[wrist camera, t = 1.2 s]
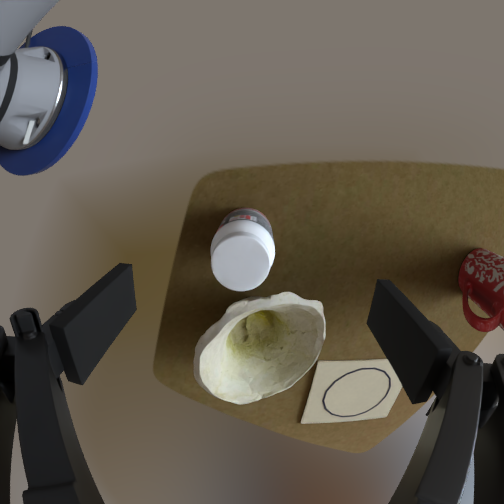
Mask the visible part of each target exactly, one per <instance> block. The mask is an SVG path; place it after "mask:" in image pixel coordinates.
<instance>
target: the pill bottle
mask: <svg viewBox="0 0 504 504" xmlns="http://www.w3.org/2000/svg"><path fill="white" fill-rule="evenodd" d="M274 257H275V245H274V240H273V234H272V229H271V225H270V223H269V221H268V219H267V218H266V217H265V216H264V215H263V214H262V213H261V212H259V211H257V210H255V209H252V208H239V209H236V210H234V211H232V212H230V213H229V214H228V215H227V216H226V217H225V218H224V220H223V221H222V223H221V225H220V227H219V228H218V230H217V232H216V234H215V236H214V238H213V240H212V244H211V268H212V271H213V274H214V276H215V278H216V279H217V280H218V281H219V282H220V283H221V284H222V285H223V286H225V287H226V288H228V289H231V290H235V291H248V290H251V289H254V288H256V287H257V286H259V285H260V284H261V283H262V282H263V281H264V280H265V279H266V277H267V275H268V273H269V270H270V267H271V266H272V264H273V261H274Z"/></svg>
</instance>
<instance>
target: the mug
mask: <svg viewBox="0 0 504 504" xmlns="http://www.w3.org/2000/svg"><path fill="white" fill-rule="evenodd" d="M458 282H459V287H460V289H461V291H462V292H463V311H464V315H465V318H466V320H467V321H468V323H469V324H470V325H471V326H472V327H473V328H475V329H476V330H478V331H481V332H489V331H492V330H494V329H495V328H496V327H498V326H500V327H501V328H502V329H503V330H504V257H502V256H500V255H497V254H495V253H493V252H490V251H488V250H486V249H482V248H478V249H475V250H473V251H472V252H470V253H469V254H468V255H467V257H466V258H465V259H464V261H463V263H462V265H461V268H460V271H459V277H458ZM468 297H469V298H470V299H471V300H472V301H473V302H474V303H475V304H477V305H478V306H479V307H480V308H481V309H482V310H483V311H484V312H485V313H486V314H487V315H488V316H489V317H491V318H481V317H479V316H477V315H475V314H474V313H473V312H472V311H471V309H470V307H469V305H468Z"/></svg>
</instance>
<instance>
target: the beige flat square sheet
mask: <svg viewBox="0 0 504 504" xmlns="http://www.w3.org/2000/svg"><path fill="white" fill-rule="evenodd" d="M401 388H402V384H401V382H400V380H399V379H398V377H397V375H396V373H395V371H394V370H393V368H392V366H391V364H390V363H389V361H388V359H373V360H339V361H318V363H317V367H316V370H315V374H314V378H313V382H312V385H311V389H310V392H309V396H308V399H307V403H306V406H305V409H304V413H303V416H302V419H301V423H330V422H345V421H356V420H366V419H375V418H382V417H386V416H387V415H388V413H389V411H390V409H391V407H392V405H393V403H394V401H395V400H396V398H397V396H398V394H399V392H400V390H401Z"/></svg>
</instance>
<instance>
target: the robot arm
mask: <svg viewBox="0 0 504 504" xmlns="http://www.w3.org/2000/svg"><path fill="white" fill-rule="evenodd" d="M58 1H59V0H0V145H1V146H3V147H5V148H7V149H10V150H19V149H27V148H30V147H32V146H34V145H35V144H37V143H38V142H39V141H41V140H42V139H43V138H44V137H45V136H46V134H47V133H48V132H49V131H50V129H51V128H52V126H53V125H54V123H55V121H56V120H57V118H58V116H59V113H60V111H61V109H62V106H63V103H64V100H65V97H66V92H67V87H68V68H67V64H66V61H65V59H64V57H63V56H62V55H61V54H60V53H59V52H57V51H55V50H53V49H51V48H48V47H45V46H40V47H30V48H29V44H30V39H31V34H32V30H33V28H34V27H35V26H36V25H37V23H38V22H39V21H40V20H41V19H42V18H43V17H44V16H45V15H46V14H47V12H48V11H49V10H50V9H51V8H52V7H53V6H54V5H55V4H56V3H57V2H58ZM26 36H27V39H26V43H25V48H21V49H17V48H18V46H19V45H20V44H21V43H22V41H23V40H24V39H25V38H26ZM136 309H137V308H136V300H135V291H134V282H133V271H132V264H123V263H119V264H118V265H117V266H115V268H113V269H112V270H111V271H109V272H108V273H107V274H106V275H105V276H103V277H102V278H101V279H100V280H99V281H98V282H96V283H95V284H94V285H93V286H91V287H90V288H89V289H88V290H87V291H86V292H85V293H83V294H82V295H81V296H80V297H79V298H78V299H76V300H74V301H71V302H69V303H67V304H65V305H64V306H63V307H62V308H61V309H60V311H57V312H56V313H55V315H53V316H52V317H51V318H50V319H49V320H48V321H46V322H45V323H44V324H43V325H41V321H40V318H39V314H38V311H37V310H36V309H34V308H23V309H20V310H18V311H16V312H14V313H13V314H12V315H11V317H10V322H11V325H12V328H13V331H14V333H15V336H16V337H12V336H6V333H5V331H4V328H3V327H2V326H0V504H10V473H11V458H12V448H13V439H14V432H15V425H16V419H17V424H18V433H19V440H20V447H21V453H22V459H23V464H24V469H25V473H26V478H27V482H28V490H25V491H23V494H22V497H23V503H24V504H105V503H104V501H103V499H102V497H101V495H100V493H99V491H98V489H97V487H96V485H95V482H94V480H93V478H92V475H91V473H90V470H89V468H88V465H87V463H86V460H85V458H84V455H83V452H82V450H81V447H80V444H79V441H78V438H77V435H76V432H75V429H74V426H73V422H72V419H71V416H70V412H69V408H68V405H67V401H66V397H65V393H64V389H63V385H62V381H61V378H60V374H61V373H62V372H63V371H64V372H65V374H66V377H67V379H68V381H70V382H73V383H76V384H80V385H83V384H84V383H85V381H86V380H87V378H88V377H89V375H90V374H91V372H92V371H93V369H94V368H95V367H96V365H97V364H98V362H99V361H100V359H101V358H102V357H103V355H104V354H105V352H106V351H107V349H108V348H109V347H110V345H111V344H112V343H113V341H114V340H115V338H116V337H117V336H118V334H119V333H120V331H121V330H122V329H123V327H124V326H125V324H126V323H127V322H128V321H129V319H130V318H131V317H132V315H133V314H134V313H135V311H136ZM367 325H368V327H369V328H370V330H371V332H372V333H373V335H374V337H375V338H376V340H377V342H378V343H379V345H380V347H381V349H382V350H383V352H384V354H385V356H386V357H387V359H388V361H389V363H390V364H391V366H392V368H393V370H394V371H395V373H396V375H397V377H398V379H399V380H400V382H401V384H402V386H403V388H404V390H405V391H406V393H407V395H408V397H409V399H410V401H411V403H412V404H416V403H422V402H427V400H428V398H429V397H430V395H431V393H432V391H433V392H434V393H435V395H436V398H435V400H434V402H433V403H432V405H431V407H430V409H429V410H428V412H427V414H426V416H428V415H429V416H428V419H427V421H426V424H425V427H424V429H423V432H422V435H421V437H420V440H419V442H418V445H417V447H416V449H415V452H414V454H413V456H412V458H411V461H410V463H409V465H408V467H407V469H406V471H405V474H404V475H403V477H402V479H401V482H400V484H399V485H398V487H397V489H396V491H395V493H394V495H393V496H392V498H391V500H390V502H389V504H460V501H461V498H462V495H463V492H464V488H465V485H466V481H467V478H468V474H469V470H470V466H471V461H472V457H473V452H474V474H475V475H474V504H504V354H499V355H497V356H496V358H495V360H494V362H493V364H488V363H483V361H482V359H481V358H480V357H479V356H478V355H476V354H475V353H472V352H469V351H460V350H459V348H458V347H457V346H456V345H455V344H454V343H453V342H452V341H451V339H450V338H448V336H447V335H446V334H445V333H443V331H442V330H441V328H440V327H439V326H438V325H436V324H434V323H433V322H431V321H428V319H427V318H426V317H425V316H424V315H423V314H422V313H421V312H420V311H419V310H418V309H417V308H416V307H415V306H414V305H413V303H412V302H411V301H410V300H409V299H408V298H407V297H406V296H405V295H404V294H403V293H402V292H401V291H400V290H399V289H398V288H397V287H396V286H395V285H394V284H393V283H392V282H391V281H390V280H383V279H377V283H376V287H375V292H374V296H373V300H372V304H371V308H370V312H369V316H368V320H367ZM497 403H498V405H496V404H497Z"/></svg>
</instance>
